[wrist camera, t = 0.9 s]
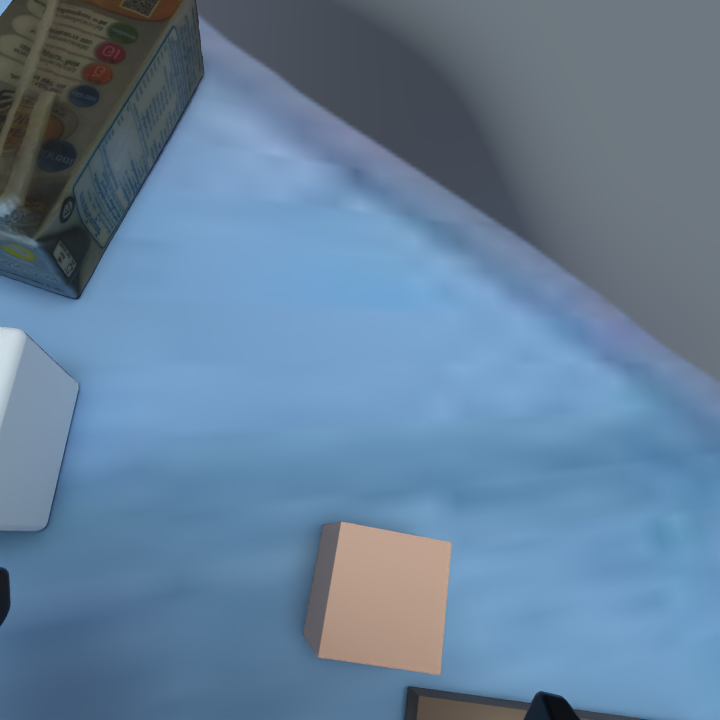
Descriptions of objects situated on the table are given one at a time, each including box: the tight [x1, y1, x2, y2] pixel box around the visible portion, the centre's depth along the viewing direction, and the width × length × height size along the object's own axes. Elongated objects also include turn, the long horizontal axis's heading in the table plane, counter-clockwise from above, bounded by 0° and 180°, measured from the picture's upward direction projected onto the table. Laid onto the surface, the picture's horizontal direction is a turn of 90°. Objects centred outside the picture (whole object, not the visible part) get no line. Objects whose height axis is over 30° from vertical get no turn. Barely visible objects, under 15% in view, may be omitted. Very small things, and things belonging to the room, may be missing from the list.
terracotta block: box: [303, 522, 452, 675], centre depth 22 cm, size 5×5×5 cm
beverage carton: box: [0, 0, 204, 298], centre depth 26 cm, size 8×19×7 cm, turn 166°
